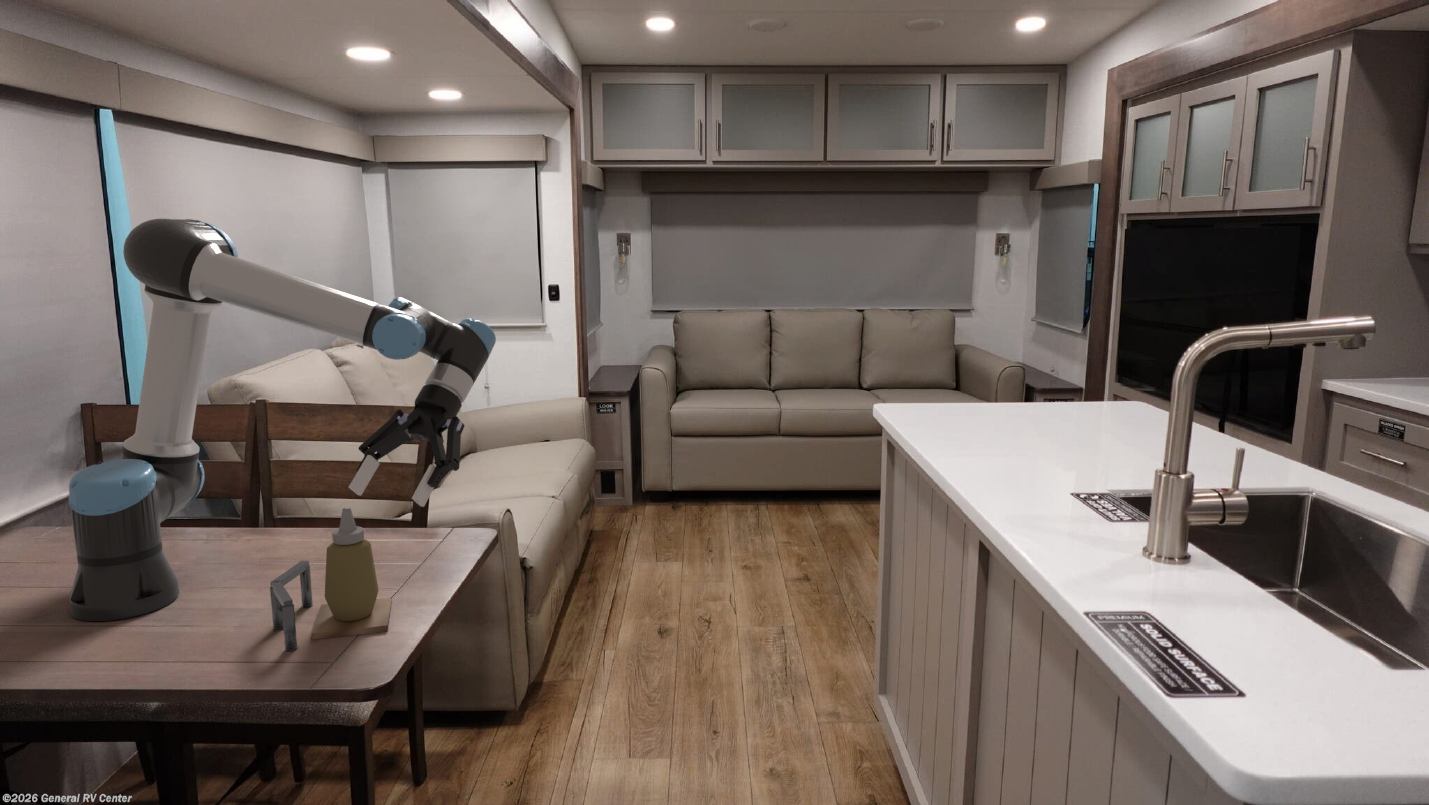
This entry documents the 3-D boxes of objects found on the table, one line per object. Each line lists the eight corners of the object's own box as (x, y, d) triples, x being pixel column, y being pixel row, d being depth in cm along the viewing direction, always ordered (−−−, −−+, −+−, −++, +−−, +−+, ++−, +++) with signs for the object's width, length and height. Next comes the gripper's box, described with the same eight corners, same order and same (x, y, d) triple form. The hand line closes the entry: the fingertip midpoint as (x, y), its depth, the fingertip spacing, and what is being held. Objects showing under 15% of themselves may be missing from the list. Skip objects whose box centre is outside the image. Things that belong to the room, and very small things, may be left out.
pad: (311, 639, 130) (311, 633, 129) (321, 610, 140) (321, 604, 140) (387, 631, 133) (387, 625, 133) (391, 603, 143) (391, 597, 143)
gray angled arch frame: (262, 654, 125) (258, 605, 123) (283, 606, 141) (279, 561, 140) (296, 650, 126) (292, 601, 125) (313, 603, 142) (310, 559, 141)
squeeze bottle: (390, 610, 138) (385, 505, 135) (351, 629, 131) (344, 519, 128) (355, 600, 142) (348, 498, 138) (314, 619, 134) (306, 511, 131)
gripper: (510, 413, 149) (456, 518, 138) (400, 400, 158) (342, 497, 147) (490, 388, 143) (433, 496, 132) (378, 376, 152) (316, 476, 141)
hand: (385, 497), depth 140 cm, fingers open, 13 cm apart
